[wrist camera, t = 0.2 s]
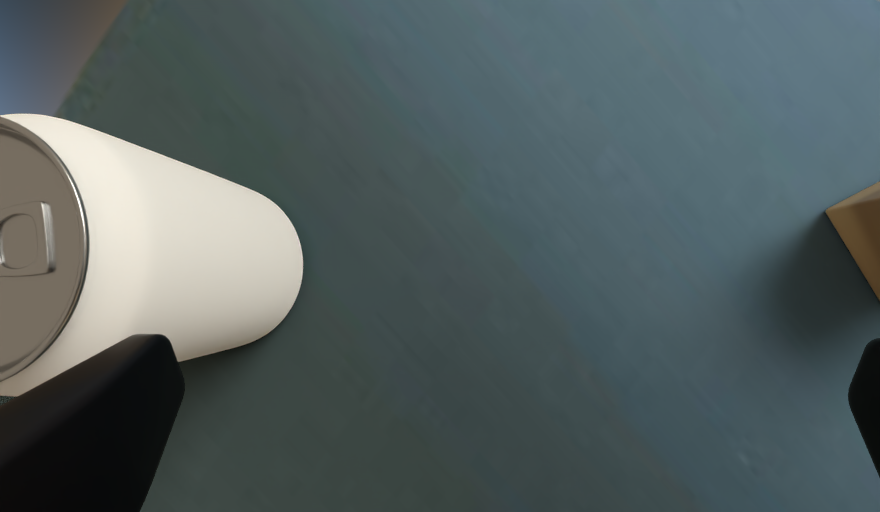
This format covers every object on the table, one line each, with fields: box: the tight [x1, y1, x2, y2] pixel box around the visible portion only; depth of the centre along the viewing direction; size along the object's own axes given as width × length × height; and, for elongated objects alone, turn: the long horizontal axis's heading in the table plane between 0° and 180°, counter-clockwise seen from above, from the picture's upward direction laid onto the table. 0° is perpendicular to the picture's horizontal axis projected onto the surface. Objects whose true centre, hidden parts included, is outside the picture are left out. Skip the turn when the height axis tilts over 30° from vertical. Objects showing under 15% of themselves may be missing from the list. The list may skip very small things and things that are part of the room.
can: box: [0, 114, 303, 396], centre depth 17 cm, size 6×6×12 cm
